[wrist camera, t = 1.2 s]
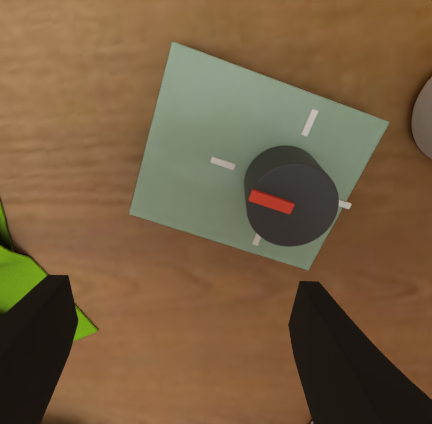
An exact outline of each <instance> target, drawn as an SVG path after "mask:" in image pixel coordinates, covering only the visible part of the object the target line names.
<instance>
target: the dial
mask: <svg viewBox="0 0 432 424" xmlns="http://www.w3.org/2000/svg"><path fill="white" fill-rule="evenodd" d="M244 192H245V202H246V211H247V217H248V220H249V223H250V225H251V227H252V228H253V230H254V231H255V232H256V233H257V234H258V235H259V236H260V237H261V238H263V239H264V240H266V241H268V242H270V243H272V244H275V245H279V246H285V247H293V246H300V245H304V244H307V243H309V242H312V241H314V240H315V239H317V238H319V237H320V236H321V235H323V234H324V233H325V232H326V231H327V230H328V229H329V227H330V226H331V225H332V223H333V221H334V219H335V217H336V215H337V211H338V206H339V197H338V192H337V188H336V186H335V184H334V182H333V181H332V179H331V178H330V177H329V175H328V174H327V173H326V172H325V171H324V170H323V168H322V167H321V166H320V165H319V164H318V163H317V161H316V160H315V159H314V158H313V157H312V156H311V155H310V154H309V153H308V152H306V151H304V150H303V149H300V148H298V147H294V146H276V147H272V148H270V149H267V150H265V151H264V152H262V153H261V154H259V155H258V156H257V157H256V158H255V159H254V160H253V161H252V162H251V164H250V165H249V167H248V169H247V171H246V174H245V178H244Z"/></svg>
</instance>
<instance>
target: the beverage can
mask: <svg viewBox="0 0 432 424" xmlns="http://www.w3.org/2000/svg"><path fill="white" fill-rule="evenodd" d="M412 133H413V137H414V139H415V142H416V144H417V146H418V147H419V148H420V150H421V151H422V152H423V153H424V154H425V155H426V156H428V157H429V158H431V159H432V77H431V78H430V79H429V80H428V82H427V83H426V84H425V86H424V87H423V89H422V90H421V92H420V94H419V96H418V98H417V100H416V103H415V106H414V109H413V114H412Z"/></svg>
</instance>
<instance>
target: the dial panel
mask: <svg viewBox="0 0 432 424" xmlns="http://www.w3.org/2000/svg"><path fill="white" fill-rule="evenodd" d="M388 124H389V121H386V120H383V119H381V118H378V117H376V116H373V115H370V114H368V113H365V112H362V111H360V110H357V109H354V108H352V107H349V106H346V105H344V104H341V103H338V102H335V101H333V100H330V99H327V98H325V97H322V96H319V95H317V94H314V93H311V92H309V91H306V90H303V89H301V88H298V87H295V86H292V85H290V84H287V83H284V82H282V81H279V80H276V79H274V78H271V77H268V76H266V75H263V74H260V73H257V72H255V71H252V70H249V69H247V68H244V67H241V66H239V65H236V64H233V63H231V62H228V61H225V60H223V59H220V58H217V57H214V56H212V55H209V54H206V53H204V52H201V51H198V50H196V49H193V48H190V47H188V46H185V45H182V44H179V43H176V42H173V41H172V43H171V47H170V51H169V55H168V59H167V63H166V67H165V71H164V75H163V79H162V83H161V87H160V91H159V95H158V99H157V103H156V107H155V111H154V115H153V119H152V123H151V127H150V131H149V135H148V139H147V143H146V147H145V151H144V155H143V159H142V163H141V167H140V171H139V175H138V179H137V183H136V187H135V191H134V195H133V199H132V203H131V208H130V212H129V214H130V215H133V216H136V217H139V218H143V219H146V220H149V221H152V222H155V223H159V224H162V225H165V226H168V227H171V228H174V229H178V230H181V231H184V232H187V233H190V234H193V235H197V236H200V237H203V238H206V239H209V240H213V241H216V242H219V243H222V244H225V245H228V246H232V247H235V248H238V249H241V250H244V251H248V252H251V253H254V254H257V255H260V256H263V257H267V258H270V259H273V260H276V261H279V262H282V263H286V264H289V265H292V266H295V267H298V268H302V269H305V270H309V268H310V266H311V265H312V263H313V261H314V259H315V257H316V255H317V254H318V252H319V250H320V248H321V246H322V245H323V243H324V241H325V239H326V237H327V235H328V234H329V232H330V230H331V228H332V226H333V225H334V223H335V221H336V219H337V217H338V215H339V214H340V212H341V210H342V208H346V209H350V207H351V205H352V204H351V203H349V202H346V201H347V199H348V197H349V195H350V194H351V192H352V190H353V188H354V186H355V184H356V183H357V181H358V179H359V177H360V175H361V174H362V172H363V170H364V168H365V166H366V164H367V163H368V161H369V159H370V157H371V155H372V153H373V152H374V150H375V148H376V146H377V144H378V143H379V141H380V139H381V137H382V135H383V133H384V132H385V130H386V128H387V126H388ZM276 146H294V147H298V148H300V149H303V150H304V151H306V152H308V153H309V154H310V155H311V156H312V157H313V158H314V159H315V160H316V161H317V163H318V164H319V165H320V166H321V167H322V168H323V170H324V171H325V172H326V173H327V174H328V175H329V177H330V178H331V179H332V181H333V182H334V184H335V186H336V188H337V192H338V197H339V206H338V211H337V215H336V217H335V219H334V221H333V223H332V225H331V226H330V227H329V229H328V230H327V231H326V232H325V233H324V234H323V235H321V236H320V237H319V238H317V239H315V240H314V241H312V242H309V243H307V244H304V245H300V246H293V247H285V246H279V245H275V244H272V243H270V242H268V241H266V240H264V239H263V238H261V237H260V236H259V235H258V234H257V233H256V232H255V231H254V230H253V228H252V227H251V225H250V223H249V220H248V217H247V211H246V202H245V192H244V178H245V174H246V171H247V169H248V167H249V165H250V164H251V162H252V161H253V160H254V159H255V158H256V157H257V156H258V155H259V154H261V153H262V152H264V151H265V150H267V149H270V148H272V147H276Z"/></svg>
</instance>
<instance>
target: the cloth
mask: <svg viewBox="0 0 432 424" xmlns="http://www.w3.org/2000/svg"><path fill="white" fill-rule="evenodd" d="M12 251H14V248H13V244H12V241H11V238H10V235H9V232H8V229H7V225H6V219H5V214H4V211H3V208H2V204H1V201H0V317H1V316H2V315H4V314H5V313H6V312H7V311H8V310H9V309H10V308H11V307H13V306H14V305H15V304H16V303H17V302H18V301H19V300H20V299H21V298H23V297H24V296H25V295H26V294H27V293H28V292H29V291H30V290H31V289H32V288H34V287H35V286H36V285H37V284H38V283H39V282H40V281H41V280H43V279H44V278H45V277H46V276H47V273H46V272H45V271H44V270H43V269H42V268H41V267H40V266H39V265H38V264H37V263H36V262H35V261H34V260H33V259H32V258H31V257H28V256H25V255H22V254H18V253H15V252H12ZM75 307H76V312H77V316H78V320H79V322H78V325H77V329H76V333H75V336H74V340H73V341H75V340H78V339H80V338H83V337H85V336H87V335H89V334H92V333H94V332H97V331H98V329H97V328H96V327H95V326H94V325H93V324H92V323H91V321H90V320H89V319H88V318H87V317H86V316H85V315H84V314H83V313H82V311H81V310H80V309H79V308H78V307H77V306H76V305H75Z"/></svg>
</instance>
